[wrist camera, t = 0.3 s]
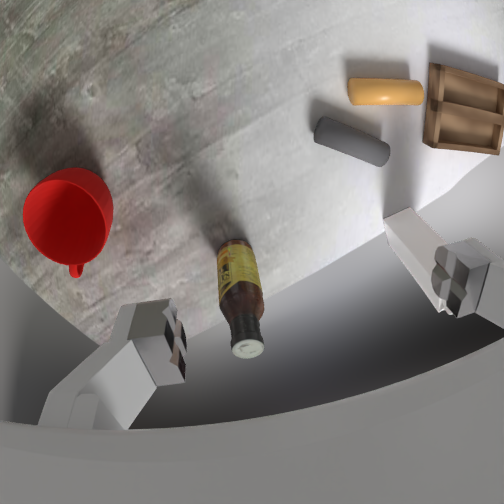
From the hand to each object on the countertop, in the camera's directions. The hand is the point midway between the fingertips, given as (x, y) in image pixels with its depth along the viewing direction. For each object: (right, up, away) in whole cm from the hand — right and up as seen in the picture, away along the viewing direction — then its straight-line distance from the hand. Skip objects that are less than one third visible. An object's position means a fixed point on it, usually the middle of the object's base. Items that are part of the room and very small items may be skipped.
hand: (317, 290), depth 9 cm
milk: (+25, +6, +46) cm, 53 cm away
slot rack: (+35, +26, +34) cm, 55 cm away
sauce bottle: (-5, +1, +45) cm, 45 cm away
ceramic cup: (-28, +9, +37) cm, 47 cm away
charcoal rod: (+13, +18, +36) cm, 42 cm away
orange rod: (+17, +25, +32) cm, 44 cm away
